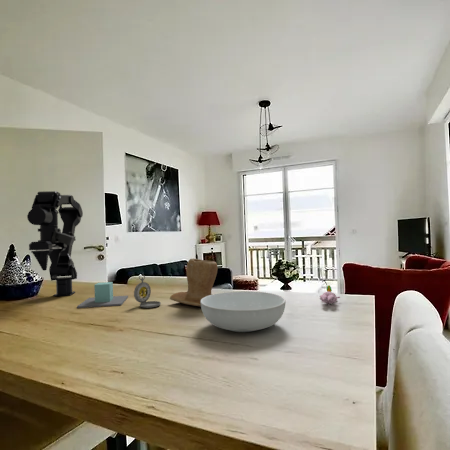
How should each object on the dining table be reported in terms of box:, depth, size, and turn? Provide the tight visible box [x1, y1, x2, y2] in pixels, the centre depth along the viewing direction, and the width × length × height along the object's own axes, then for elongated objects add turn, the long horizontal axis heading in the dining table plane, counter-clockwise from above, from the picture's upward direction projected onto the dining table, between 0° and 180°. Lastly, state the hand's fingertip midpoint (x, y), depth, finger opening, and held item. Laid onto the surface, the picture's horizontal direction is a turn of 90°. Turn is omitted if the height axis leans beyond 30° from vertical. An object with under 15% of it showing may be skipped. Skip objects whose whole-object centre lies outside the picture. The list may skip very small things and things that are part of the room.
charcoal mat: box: [76, 295, 129, 309], centre depth 114 cm, size 14×14×1 cm
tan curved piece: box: [169, 258, 219, 307], centre depth 106 cm, size 15×12×15 cm
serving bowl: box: [200, 290, 287, 333], centre depth 80 cm, size 21×21×7 cm
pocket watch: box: [133, 274, 161, 309], centre depth 106 cm, size 8×8×10 cm
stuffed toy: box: [319, 284, 341, 305], centre depth 101 cm, size 6×6×15 cm
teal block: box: [93, 281, 114, 302], centre depth 114 cm, size 5×5×6 cm
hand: (49, 268), depth 117 cm, fingers open, 9 cm apart
